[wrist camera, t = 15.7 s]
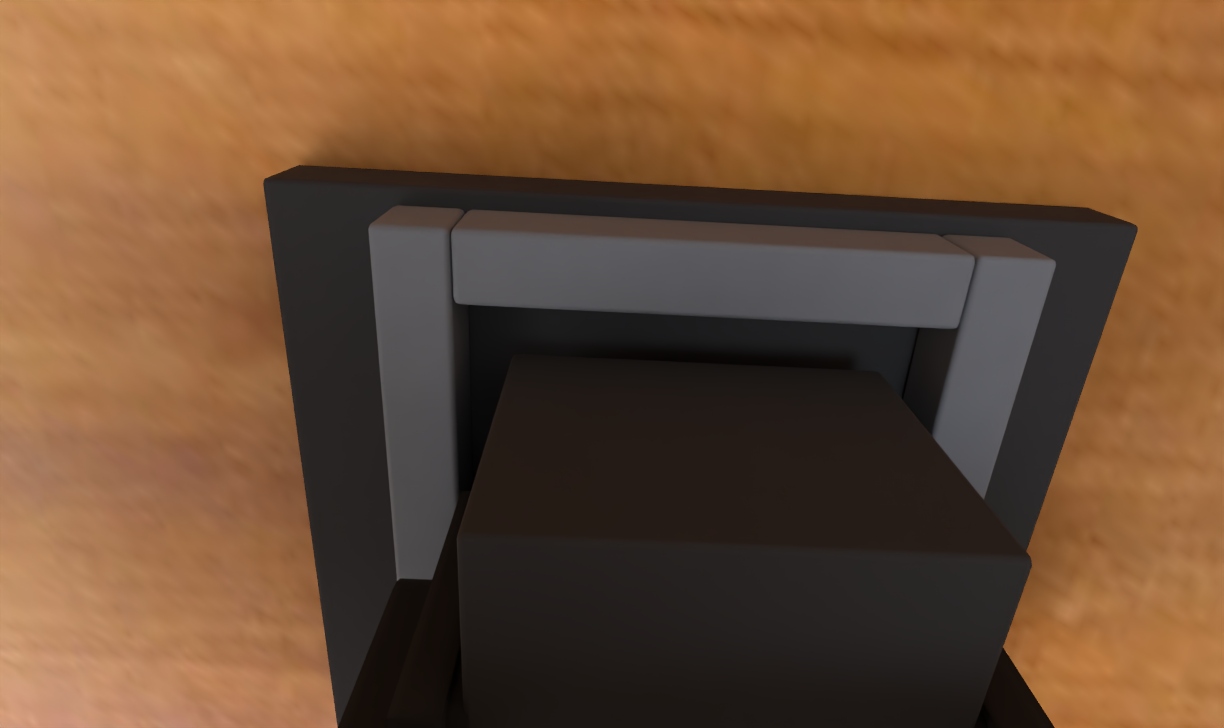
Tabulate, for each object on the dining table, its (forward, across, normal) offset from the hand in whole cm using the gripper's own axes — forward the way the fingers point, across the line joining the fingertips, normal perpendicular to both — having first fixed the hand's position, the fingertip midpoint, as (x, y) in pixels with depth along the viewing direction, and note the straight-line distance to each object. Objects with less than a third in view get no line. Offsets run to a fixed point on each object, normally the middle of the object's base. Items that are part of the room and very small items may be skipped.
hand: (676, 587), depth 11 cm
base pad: (+3, 0, 0) cm, 3 cm away
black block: (0, 0, 0) cm, 0 cm away
